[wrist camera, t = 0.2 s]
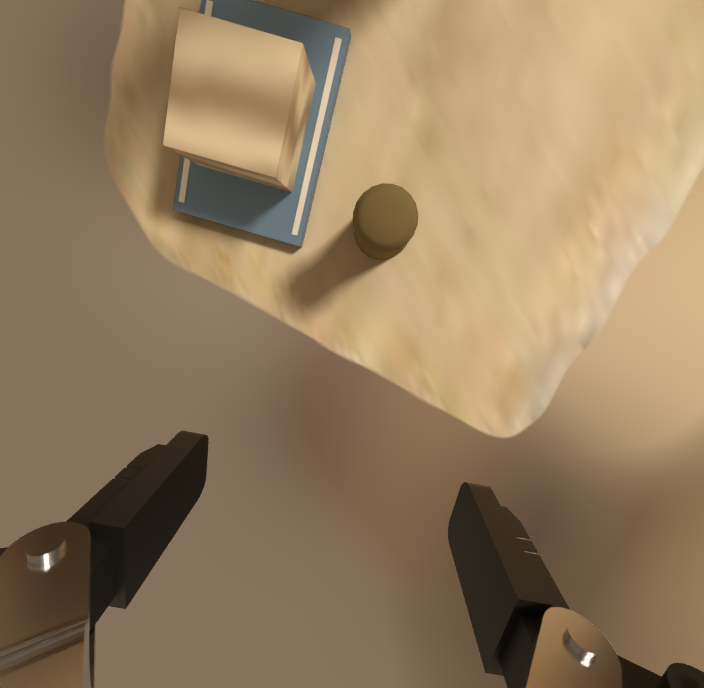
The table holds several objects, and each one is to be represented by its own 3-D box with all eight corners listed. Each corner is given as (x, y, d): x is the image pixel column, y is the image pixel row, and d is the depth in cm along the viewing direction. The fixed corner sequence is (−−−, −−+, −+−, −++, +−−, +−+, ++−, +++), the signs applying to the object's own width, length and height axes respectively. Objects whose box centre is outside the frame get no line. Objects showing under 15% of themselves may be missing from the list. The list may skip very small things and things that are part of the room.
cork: (344, 242, 36) (331, 232, 26) (371, 189, 35) (370, 156, 24) (392, 269, 37) (399, 272, 26) (421, 218, 35) (442, 198, 25)
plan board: (209, -4, 32) (203, -15, 31) (350, 37, 32) (349, 28, 31) (179, 211, 37) (172, 209, 35) (301, 247, 37) (299, 246, 35)
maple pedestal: (215, 54, 32) (179, 7, 26) (315, 83, 32) (302, 43, 26) (198, 165, 34) (162, 145, 28) (292, 192, 34) (275, 177, 28)
